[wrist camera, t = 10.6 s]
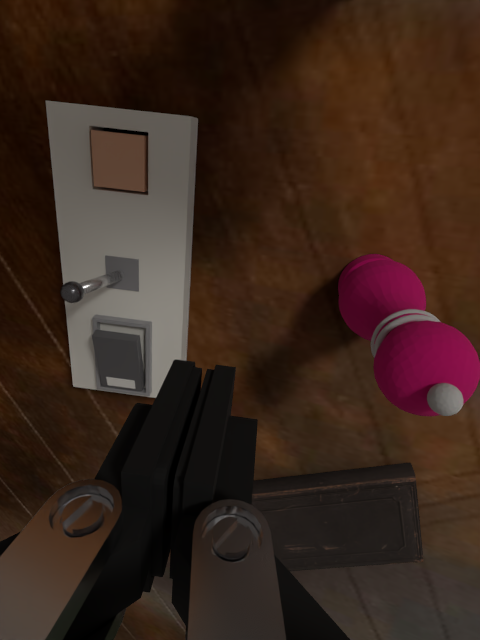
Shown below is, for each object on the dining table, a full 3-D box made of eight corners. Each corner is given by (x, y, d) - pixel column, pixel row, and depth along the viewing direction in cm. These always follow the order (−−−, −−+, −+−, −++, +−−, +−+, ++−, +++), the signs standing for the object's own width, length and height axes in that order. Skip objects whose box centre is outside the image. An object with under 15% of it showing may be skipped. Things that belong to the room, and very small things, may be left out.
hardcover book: (417, 545, 54) (423, 561, 52) (256, 558, 58) (255, 573, 56) (409, 458, 48) (415, 473, 46) (229, 479, 52) (227, 493, 50)
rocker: (95, 329, 38) (91, 336, 37) (139, 335, 38) (136, 342, 37) (105, 378, 42) (101, 386, 42) (145, 384, 42) (142, 391, 41)
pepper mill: (322, 307, 40) (360, 442, 22) (348, 239, 37) (416, 332, 19) (389, 325, 40) (481, 474, 22) (420, 260, 37) (556, 370, 19)
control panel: (63, 103, 34) (40, 99, 31) (198, 118, 34) (189, 115, 30) (85, 372, 46) (69, 390, 43) (185, 385, 46) (177, 405, 42)
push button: (104, 130, 34) (90, 129, 32) (153, 136, 34) (143, 135, 32) (106, 183, 36) (93, 186, 34) (153, 188, 36) (143, 191, 34)
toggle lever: (113, 263, 37) (54, 282, 31) (129, 267, 36) (71, 287, 31) (114, 281, 38) (56, 302, 32) (129, 285, 37) (73, 308, 31)
